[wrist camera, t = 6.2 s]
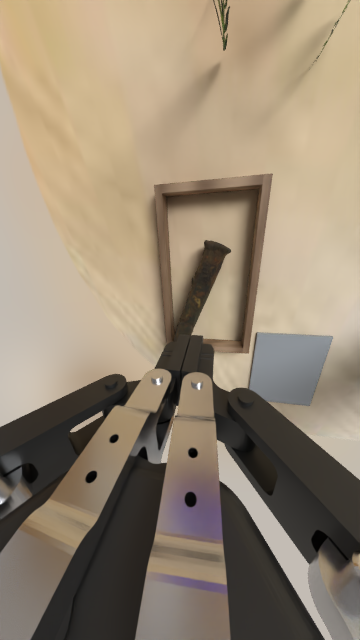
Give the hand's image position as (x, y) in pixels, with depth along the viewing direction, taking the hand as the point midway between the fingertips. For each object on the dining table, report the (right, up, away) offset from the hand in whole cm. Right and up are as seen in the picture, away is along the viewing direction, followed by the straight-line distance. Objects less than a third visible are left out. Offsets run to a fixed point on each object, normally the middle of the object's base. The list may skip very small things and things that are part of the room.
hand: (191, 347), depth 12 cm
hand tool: (+5, +11, +22) cm, 25 cm away
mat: (+20, -8, +24) cm, 32 cm away
